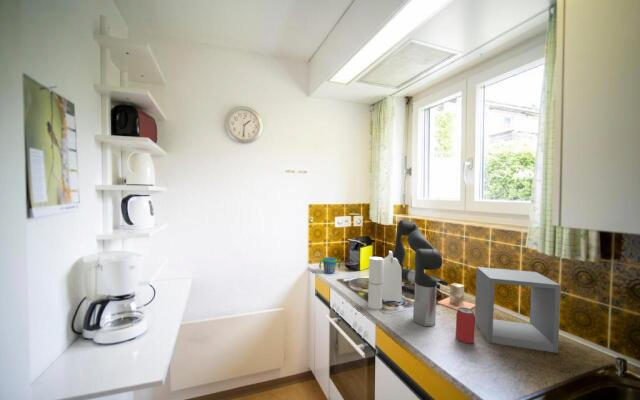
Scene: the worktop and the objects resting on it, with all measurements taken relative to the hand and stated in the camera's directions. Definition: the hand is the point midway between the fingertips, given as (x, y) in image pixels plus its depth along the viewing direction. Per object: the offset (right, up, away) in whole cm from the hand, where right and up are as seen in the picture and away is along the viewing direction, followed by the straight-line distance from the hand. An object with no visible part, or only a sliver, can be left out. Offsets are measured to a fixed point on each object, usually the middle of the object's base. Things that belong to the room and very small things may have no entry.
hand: (443, 285), depth 146 cm
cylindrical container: (-41, -8, -10) cm, 42 cm away
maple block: (+4, -8, -6) cm, 10 cm away
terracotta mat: (+4, -8, -6) cm, 11 cm away
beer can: (-11, -9, -40) cm, 42 cm away
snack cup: (-62, -6, +46) cm, 78 cm away
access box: (+11, -9, -37) cm, 40 cm away
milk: (-30, -8, +2) cm, 31 cm away
